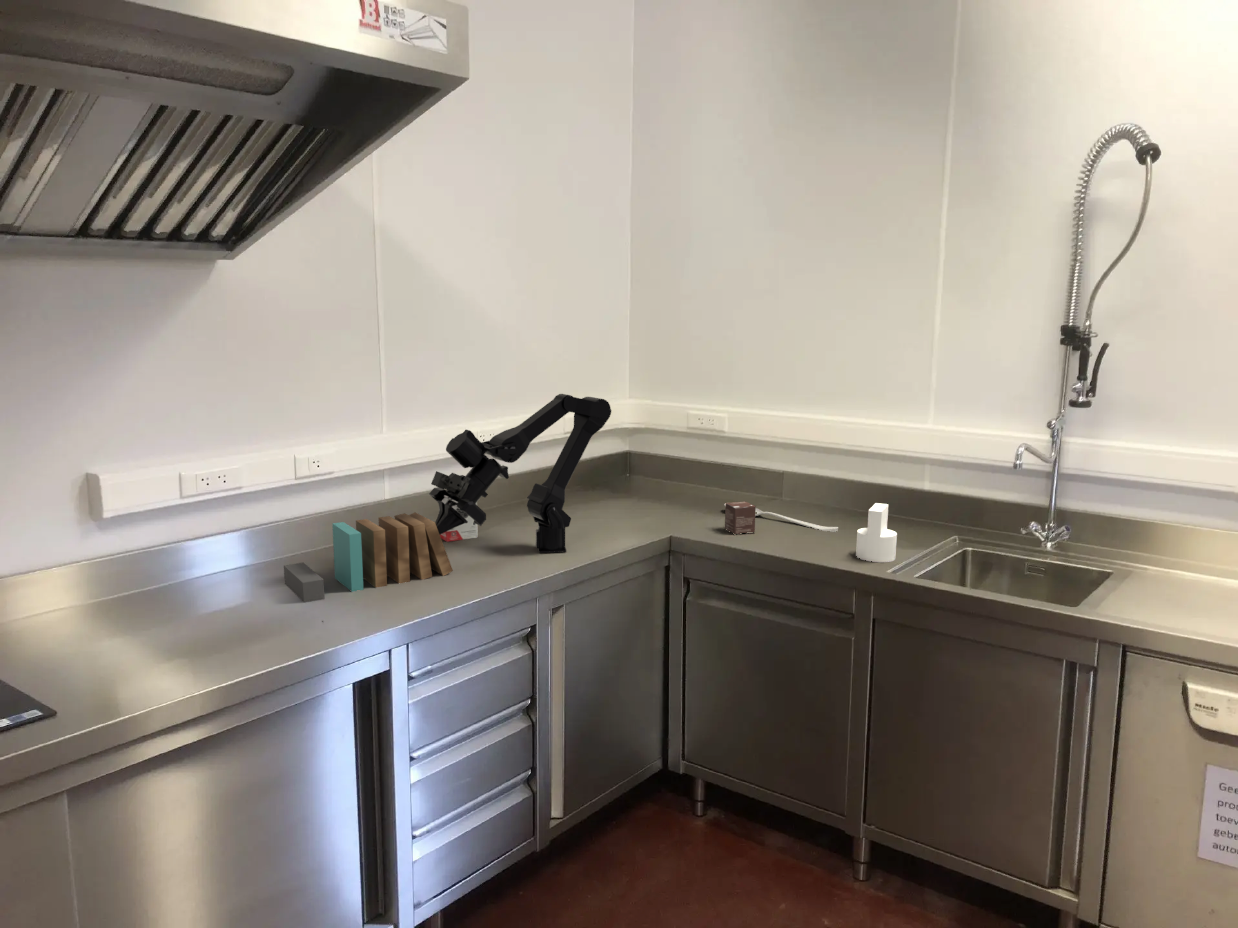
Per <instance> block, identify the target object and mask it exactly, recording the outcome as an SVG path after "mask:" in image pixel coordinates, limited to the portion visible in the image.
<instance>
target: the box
mask: <svg viewBox="0 0 1238 928" xmlns="http://www.w3.org/2000/svg"><path fill="white" fill-rule="evenodd" d="M724 507H725V509H724V510H725V513H724V530H725V529H727V530H728V531H730V532H732V533H734V534H739V535H741V534H740V533H747V532H756V516H755V512H756V508H757V507H756V505H754V504H751V503H750V502H748V501H734V502H732V501H731V502H726V506H725V505H724ZM728 531H727V532H728ZM730 532H729V533H730ZM732 533H731V534H732Z"/></svg>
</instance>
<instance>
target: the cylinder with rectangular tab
mask: <svg viewBox="0 0 1238 928" xmlns="http://www.w3.org/2000/svg"><path fill="white" fill-rule="evenodd" d="M888 516H889V503H888V504H887V503H879V502H875V503H874V504H873V505H872V506H871V507H870V508H869V509H868V515H867V527H862V528H859V529H857V533H856V545H855V548H856V549H855V550H856V551H855V557H856V556H857V557H856V558H857V559H859V558H860V560H862V561H865V560H866V562H871V561H872V562H871V563H888V562H889V563H890V562H893V561H895V560H896V556H897V555H896V553H897V539H898V538H897V537H898V533H897V532H896V531H894V530H892V529H888V518H889V517H888Z"/></svg>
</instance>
